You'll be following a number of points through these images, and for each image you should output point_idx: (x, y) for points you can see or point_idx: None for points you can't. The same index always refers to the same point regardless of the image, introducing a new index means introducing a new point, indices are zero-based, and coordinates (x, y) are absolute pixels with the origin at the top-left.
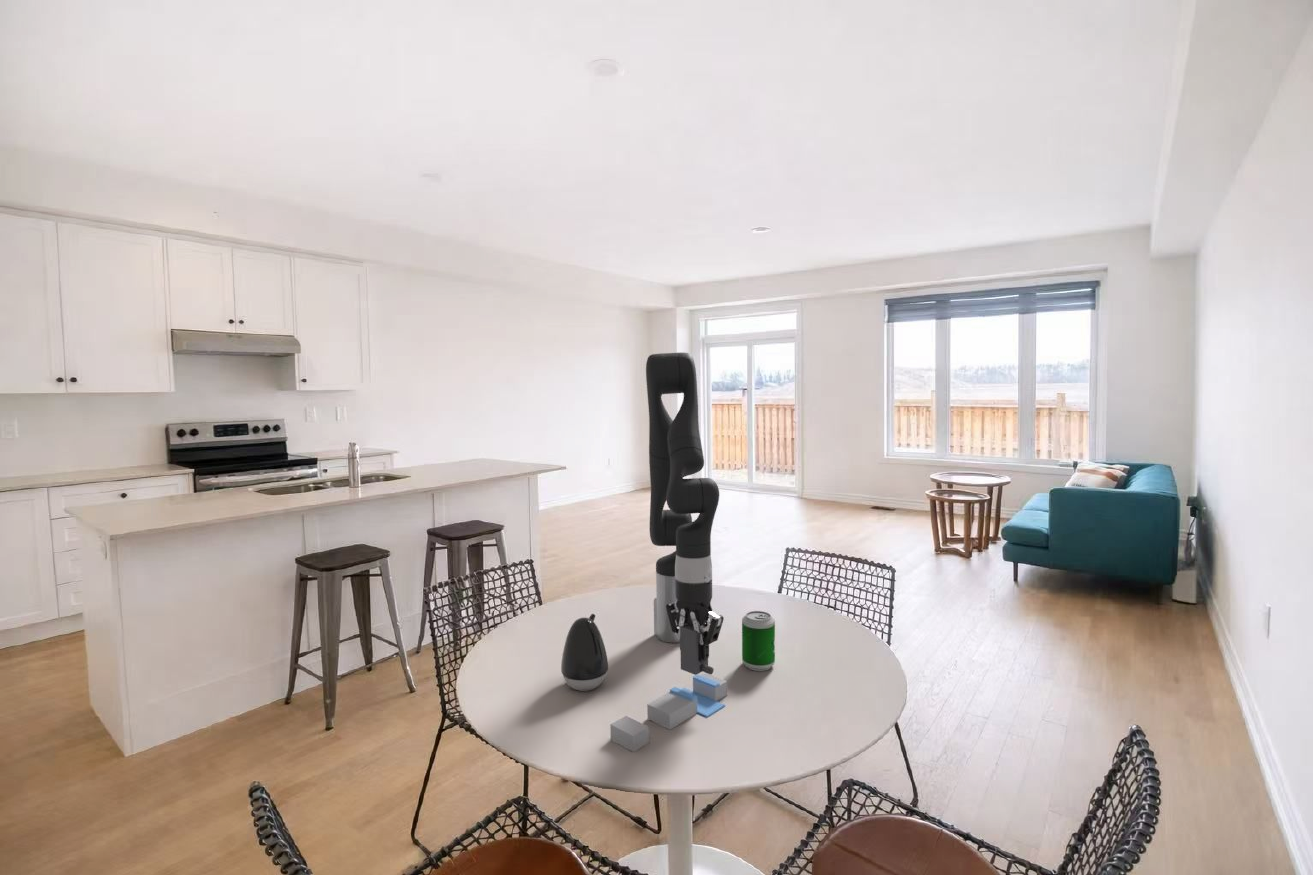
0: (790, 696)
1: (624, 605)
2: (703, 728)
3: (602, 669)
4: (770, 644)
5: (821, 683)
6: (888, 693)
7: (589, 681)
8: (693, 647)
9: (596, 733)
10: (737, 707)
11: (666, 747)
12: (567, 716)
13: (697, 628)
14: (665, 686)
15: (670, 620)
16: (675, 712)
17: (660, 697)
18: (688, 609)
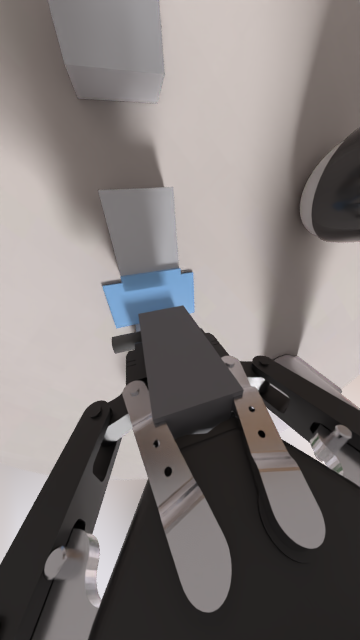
0: (87, 398)
1: (346, 362)
2: (70, 254)
3: (325, 199)
4: None
5: None
6: (34, 466)
7: (325, 164)
8: (153, 356)
9: (197, 10)
10: (102, 338)
11: (31, 115)
12: (298, 35)
13: (147, 444)
14: (217, 295)
15: (304, 383)
16: (104, 214)
17: (175, 235)
18: (275, 551)
